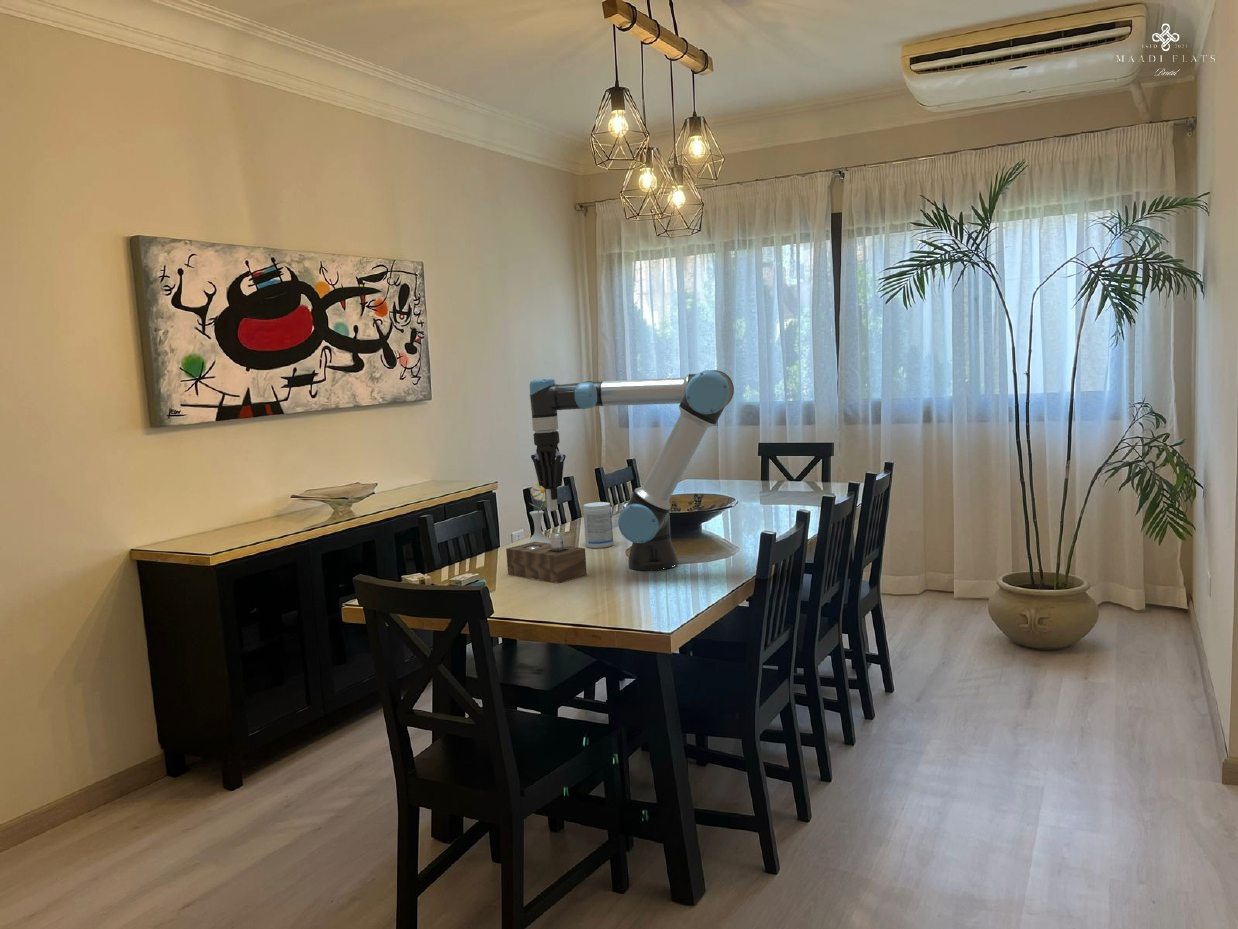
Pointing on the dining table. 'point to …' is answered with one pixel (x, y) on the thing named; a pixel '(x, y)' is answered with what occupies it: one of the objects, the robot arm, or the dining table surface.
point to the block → (546, 562)
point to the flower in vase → (538, 515)
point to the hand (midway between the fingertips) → (552, 510)
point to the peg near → (557, 542)
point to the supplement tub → (598, 525)
